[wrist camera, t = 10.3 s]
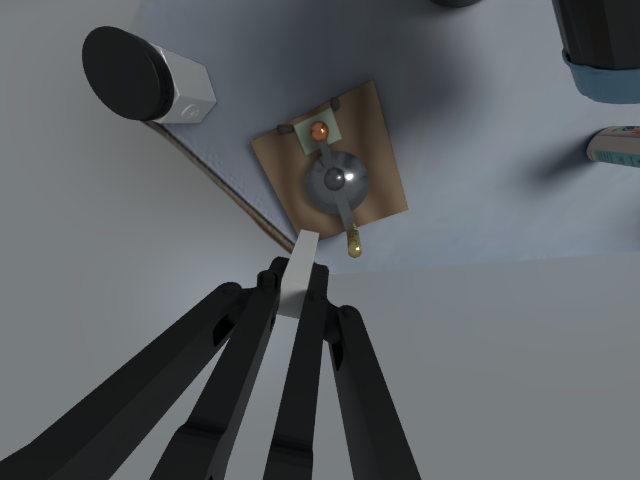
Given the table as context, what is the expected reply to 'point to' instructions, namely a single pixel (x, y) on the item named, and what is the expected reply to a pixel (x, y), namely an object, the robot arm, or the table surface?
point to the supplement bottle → (616, 146)
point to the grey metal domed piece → (337, 184)
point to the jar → (145, 78)
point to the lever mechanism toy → (344, 135)
